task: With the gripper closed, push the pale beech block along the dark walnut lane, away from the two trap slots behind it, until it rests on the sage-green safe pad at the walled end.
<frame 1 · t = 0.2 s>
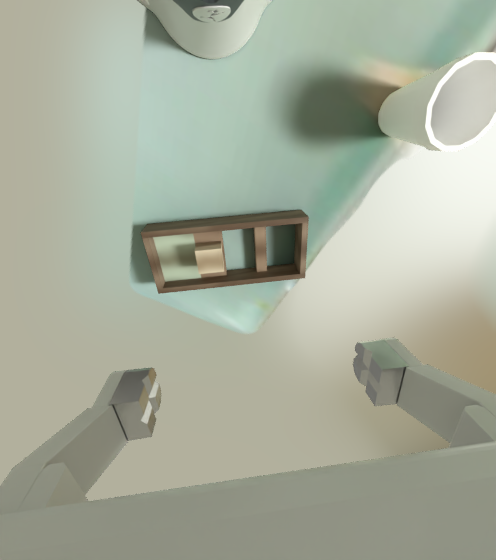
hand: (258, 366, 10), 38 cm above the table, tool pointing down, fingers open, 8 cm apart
block: (210, 253, 47), point 2 cm above the table, touching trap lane
foam cup: (396, 113, 40), on the table
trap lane: (228, 247, 49), on the table
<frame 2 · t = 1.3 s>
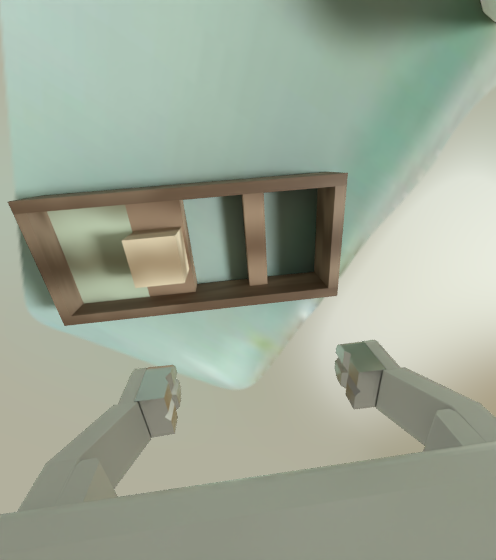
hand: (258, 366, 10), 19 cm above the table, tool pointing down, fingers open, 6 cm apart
block: (163, 250, 25), point 2 cm above the table, touching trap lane
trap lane: (199, 241, 27), on the table
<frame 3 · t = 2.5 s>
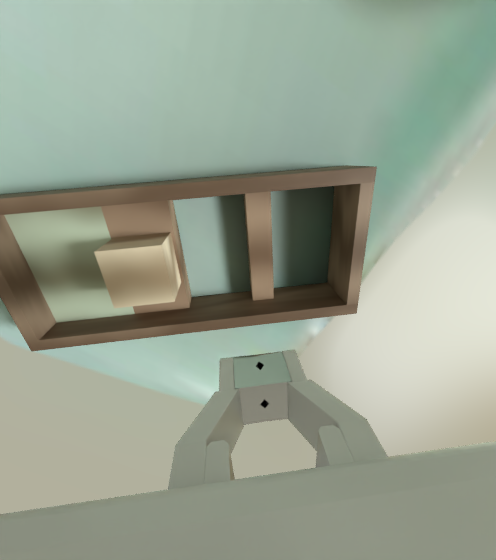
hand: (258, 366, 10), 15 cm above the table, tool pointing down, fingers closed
block: (149, 260, 21), point 2 cm above the table, touching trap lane
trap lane: (193, 249, 23), on the table
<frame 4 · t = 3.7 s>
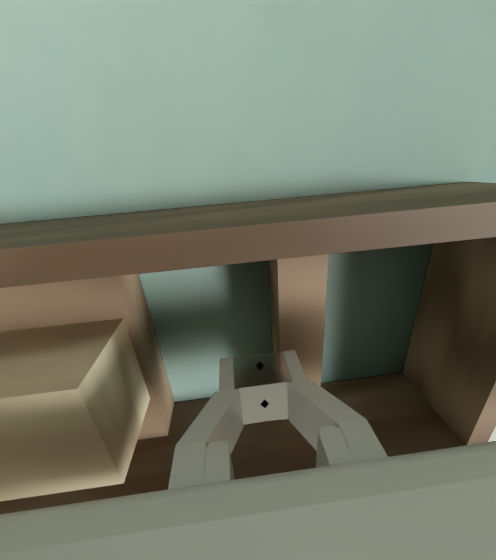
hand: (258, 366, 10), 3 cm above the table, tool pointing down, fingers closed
block: (84, 368, 11), point 2 cm above the table, touching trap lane
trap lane: (174, 331, 13), on the table
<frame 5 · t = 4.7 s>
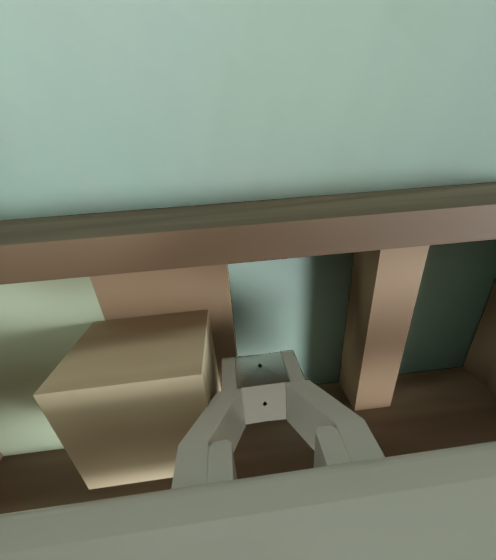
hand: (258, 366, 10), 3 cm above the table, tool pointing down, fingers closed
block: (163, 359, 11), point 2 cm above the table, touching gripper
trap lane: (253, 322, 13), on the table
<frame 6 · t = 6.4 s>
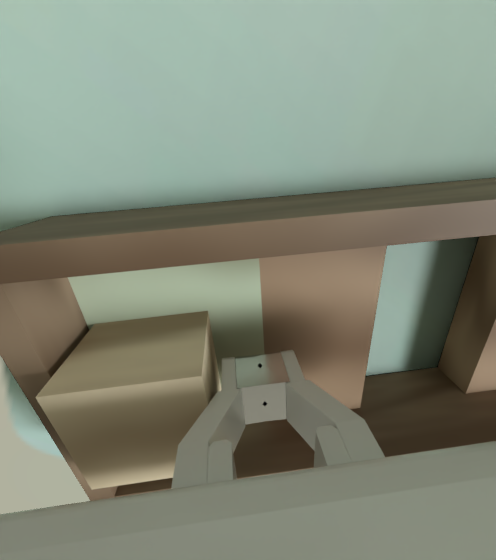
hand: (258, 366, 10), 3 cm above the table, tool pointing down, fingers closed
block: (164, 360, 11), point 2 cm above the table, touching gripper, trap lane
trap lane: (370, 307, 13), on the table
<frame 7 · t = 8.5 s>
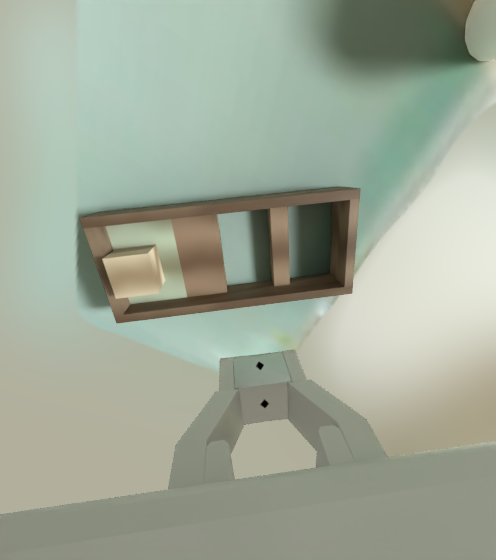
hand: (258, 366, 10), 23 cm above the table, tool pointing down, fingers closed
block: (141, 265, 29), point 2 cm above the table, touching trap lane
foam cup: (493, 23, 25), on the table
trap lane: (230, 248, 31), on the table
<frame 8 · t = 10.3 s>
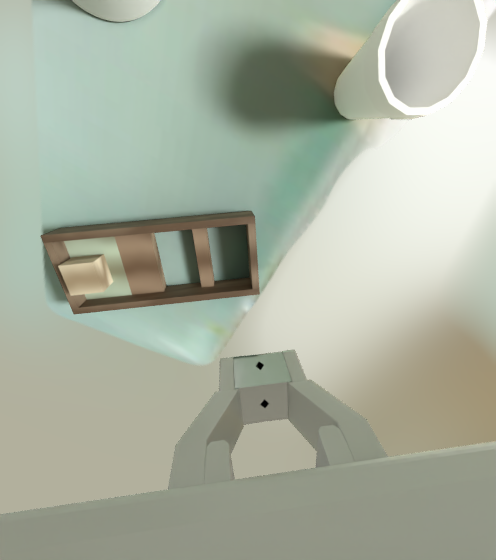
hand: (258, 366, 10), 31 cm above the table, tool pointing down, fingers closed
block: (93, 269, 38), point 2 cm above the table, touching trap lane
foam cup: (356, 92, 33), on the table
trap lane: (166, 257, 40), on the table
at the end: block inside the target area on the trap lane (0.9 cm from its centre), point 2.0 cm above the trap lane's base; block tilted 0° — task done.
